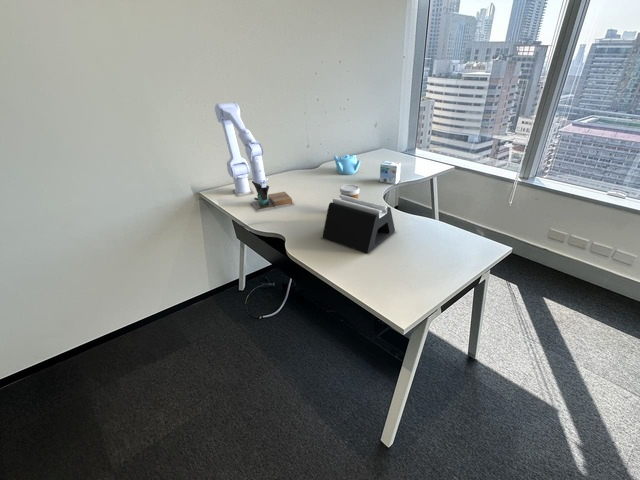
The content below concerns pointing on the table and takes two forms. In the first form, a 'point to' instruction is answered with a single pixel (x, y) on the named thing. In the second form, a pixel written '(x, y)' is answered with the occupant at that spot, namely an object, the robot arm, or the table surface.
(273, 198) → the tier stand
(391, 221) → the device stand
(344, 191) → the disposable coffee cup
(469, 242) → the table surface
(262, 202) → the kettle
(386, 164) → the light bulb box
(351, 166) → the teapot
